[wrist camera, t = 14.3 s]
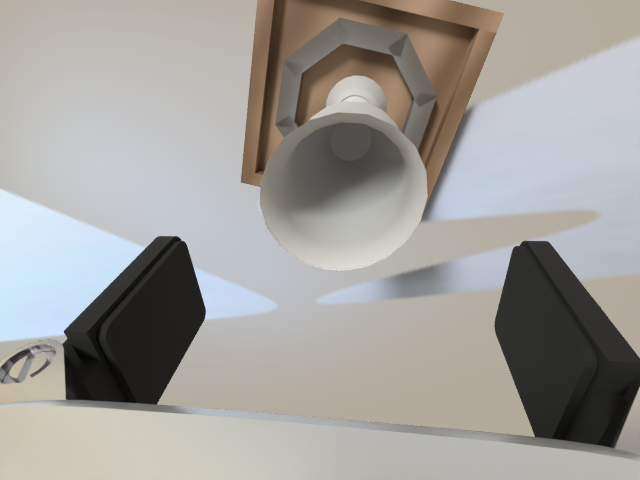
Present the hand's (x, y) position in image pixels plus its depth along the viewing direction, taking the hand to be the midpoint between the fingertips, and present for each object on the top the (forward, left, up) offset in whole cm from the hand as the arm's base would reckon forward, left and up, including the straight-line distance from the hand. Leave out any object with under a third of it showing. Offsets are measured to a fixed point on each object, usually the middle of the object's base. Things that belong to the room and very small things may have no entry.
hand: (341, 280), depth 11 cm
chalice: (0, 0, -24) cm, 24 cm away
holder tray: (0, 0, -24) cm, 24 cm away
